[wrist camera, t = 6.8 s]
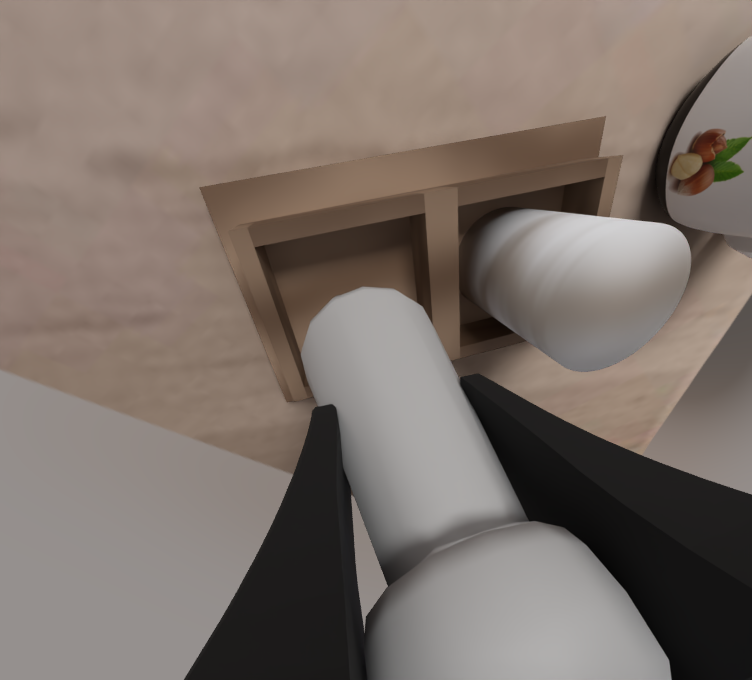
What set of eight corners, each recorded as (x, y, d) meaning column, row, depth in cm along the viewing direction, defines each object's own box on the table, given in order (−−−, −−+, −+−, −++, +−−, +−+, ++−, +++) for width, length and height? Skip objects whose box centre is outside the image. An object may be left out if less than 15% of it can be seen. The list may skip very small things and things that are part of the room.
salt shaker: (432, 338, 16) (742, 706, 5) (344, 393, 16) (449, 848, 5) (381, 245, 13) (911, 679, 2) (273, 316, 13) (176, 1028, 2)
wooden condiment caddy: (555, 323, 23) (685, 395, 15) (287, 393, 21) (277, 520, 13) (590, 119, 16) (845, 62, 9) (205, 187, 14) (85, 191, 6)
